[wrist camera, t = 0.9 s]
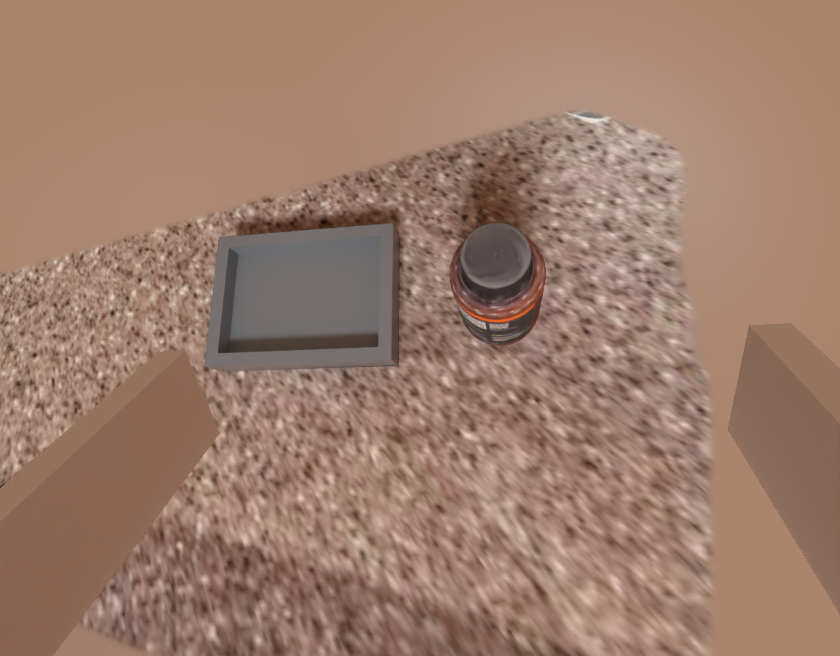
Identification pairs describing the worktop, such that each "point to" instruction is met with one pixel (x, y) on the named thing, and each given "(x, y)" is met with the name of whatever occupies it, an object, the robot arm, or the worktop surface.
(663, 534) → the worktop surface
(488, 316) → the supplement bottle
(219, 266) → the tray
